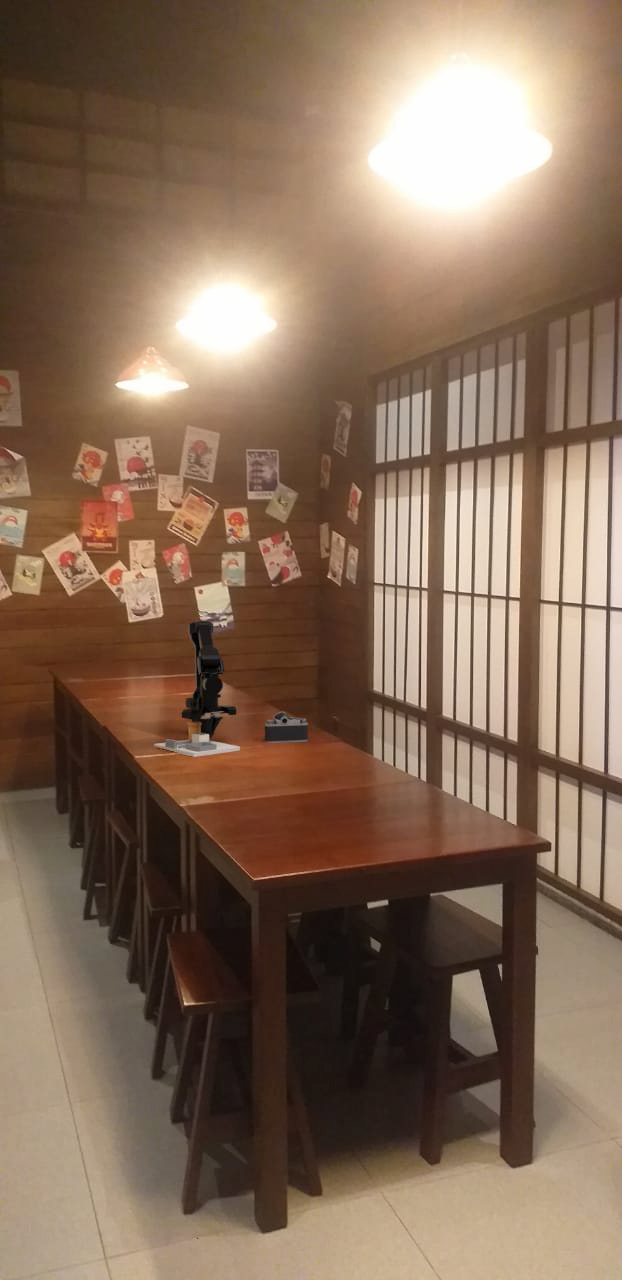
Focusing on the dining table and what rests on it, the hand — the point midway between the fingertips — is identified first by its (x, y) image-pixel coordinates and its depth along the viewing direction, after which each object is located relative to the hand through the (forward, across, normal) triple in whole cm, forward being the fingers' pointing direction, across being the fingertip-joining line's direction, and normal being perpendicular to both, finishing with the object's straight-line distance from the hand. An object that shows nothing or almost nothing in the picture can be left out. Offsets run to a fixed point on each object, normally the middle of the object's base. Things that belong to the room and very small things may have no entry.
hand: (209, 738), depth 322 cm
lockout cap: (+1, +2, -6) cm, 6 cm away
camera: (+3, -26, +8) cm, 28 cm away
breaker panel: (+3, +7, +2) cm, 7 cm away
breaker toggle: (+1, +4, 0) cm, 4 cm away
